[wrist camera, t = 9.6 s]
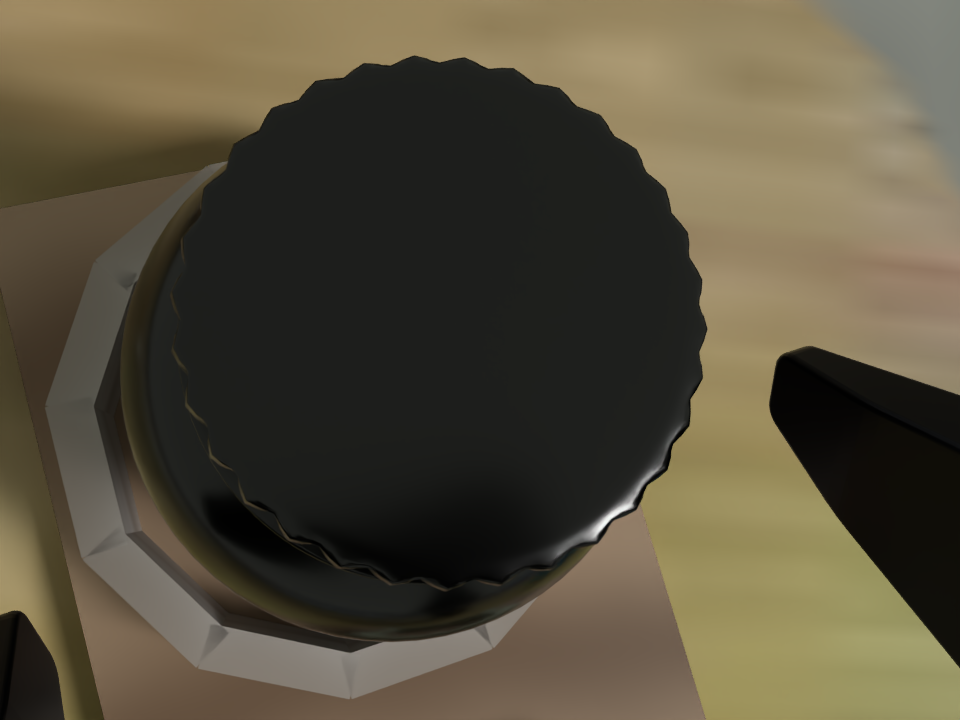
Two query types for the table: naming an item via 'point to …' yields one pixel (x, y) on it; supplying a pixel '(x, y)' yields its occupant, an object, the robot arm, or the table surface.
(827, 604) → the table surface
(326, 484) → the supplement bottle
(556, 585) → the socket board
